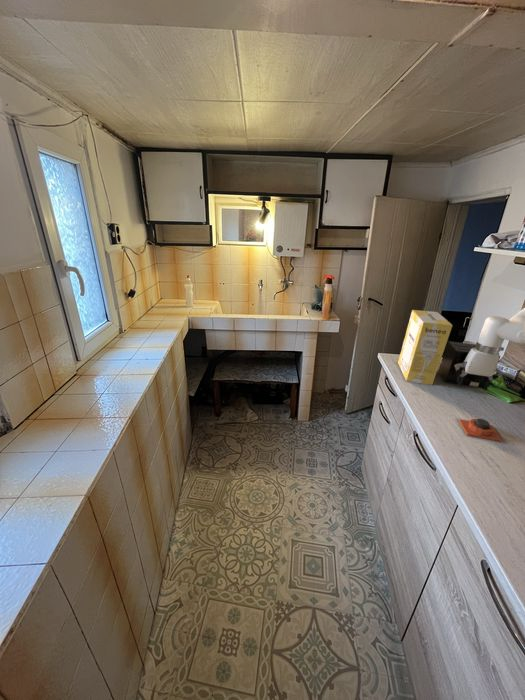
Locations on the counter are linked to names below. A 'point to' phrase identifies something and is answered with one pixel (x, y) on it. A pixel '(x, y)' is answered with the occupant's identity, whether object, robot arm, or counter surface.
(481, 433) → the switch block
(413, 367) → the pasta box
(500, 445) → the counter surface
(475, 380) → the press handle
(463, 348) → the toaster
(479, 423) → the button
